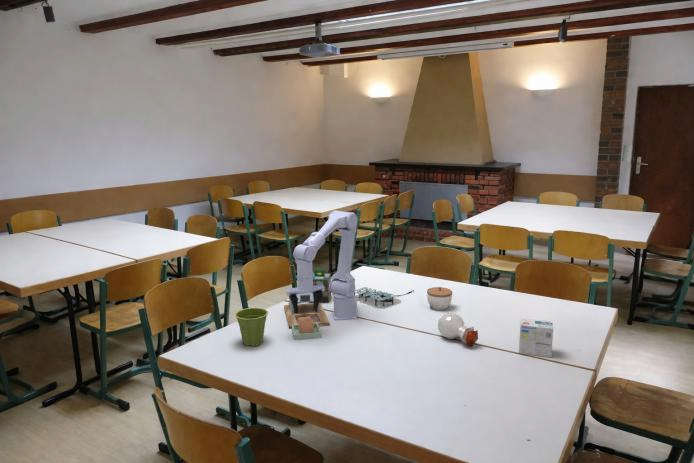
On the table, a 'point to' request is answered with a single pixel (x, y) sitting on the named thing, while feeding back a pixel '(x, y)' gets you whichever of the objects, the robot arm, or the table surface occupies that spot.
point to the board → (306, 314)
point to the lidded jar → (439, 297)
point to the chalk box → (322, 280)
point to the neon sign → (377, 298)
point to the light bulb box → (536, 337)
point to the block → (306, 325)
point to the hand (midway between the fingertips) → (305, 311)
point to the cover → (303, 300)
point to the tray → (307, 335)
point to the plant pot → (252, 325)
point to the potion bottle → (456, 329)
